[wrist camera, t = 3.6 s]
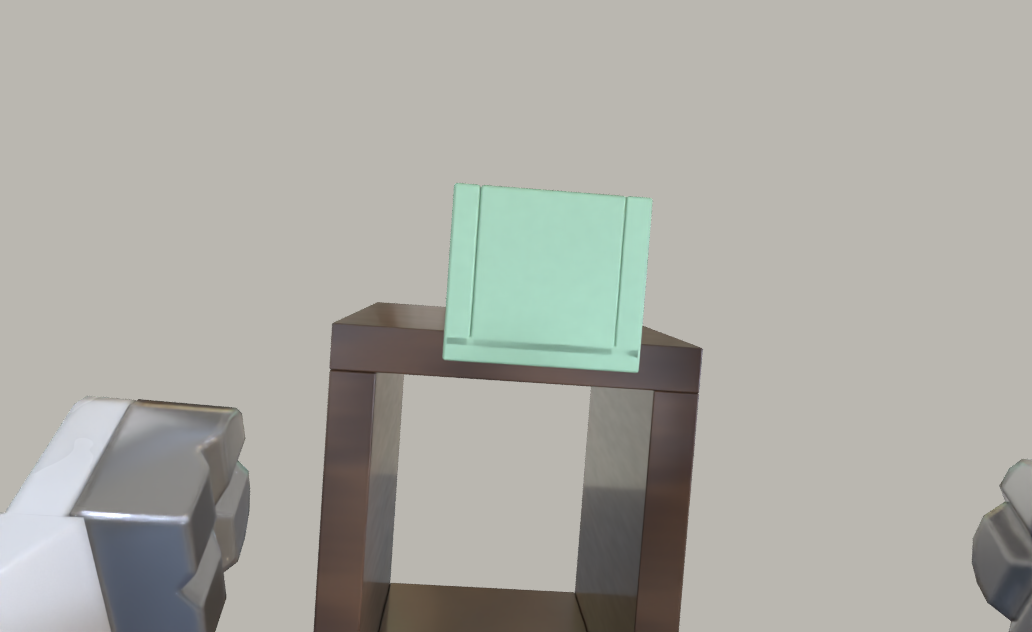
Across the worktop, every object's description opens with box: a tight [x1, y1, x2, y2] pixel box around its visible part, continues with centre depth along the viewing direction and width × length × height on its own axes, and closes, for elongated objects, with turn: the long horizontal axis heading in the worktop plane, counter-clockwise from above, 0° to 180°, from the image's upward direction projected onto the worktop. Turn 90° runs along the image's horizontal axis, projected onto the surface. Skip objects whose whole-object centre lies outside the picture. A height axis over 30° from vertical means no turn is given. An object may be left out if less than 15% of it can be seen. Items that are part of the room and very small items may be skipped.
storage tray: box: [442, 183, 652, 373], centre depth 31 cm, size 4×22×4 cm, turn 3°
